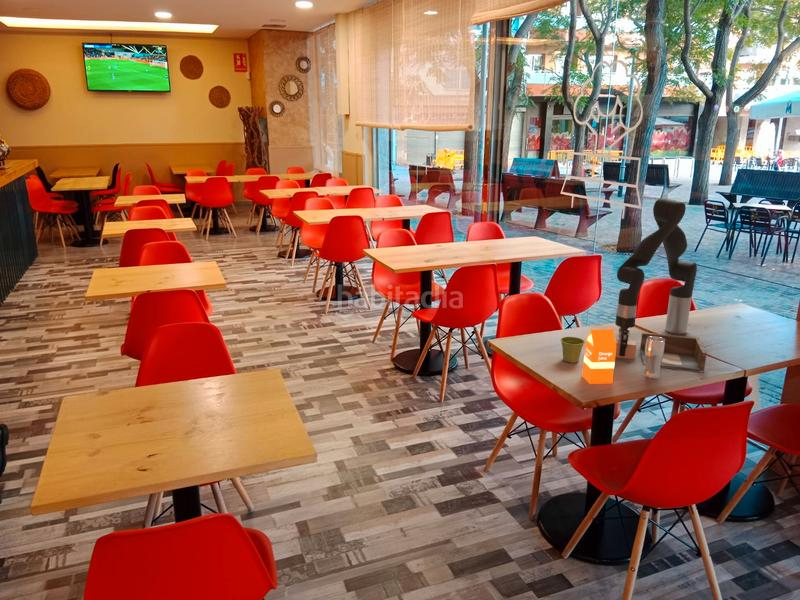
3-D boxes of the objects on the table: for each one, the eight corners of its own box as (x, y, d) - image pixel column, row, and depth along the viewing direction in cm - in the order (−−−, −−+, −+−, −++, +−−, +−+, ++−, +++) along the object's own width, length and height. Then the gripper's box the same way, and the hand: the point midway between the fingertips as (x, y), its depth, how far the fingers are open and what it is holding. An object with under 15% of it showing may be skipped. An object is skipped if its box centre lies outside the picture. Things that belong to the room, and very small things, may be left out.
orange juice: (612, 383, 228) (618, 332, 222) (589, 383, 227) (594, 332, 222) (604, 375, 236) (609, 325, 230) (581, 375, 235) (586, 326, 229)
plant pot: (555, 356, 254) (557, 336, 251) (577, 355, 255) (579, 336, 252) (563, 365, 245) (565, 344, 242) (586, 364, 246) (588, 344, 243)
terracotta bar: (609, 356, 254) (610, 342, 253) (608, 352, 259) (610, 338, 257) (634, 359, 252) (636, 345, 250) (633, 354, 256) (635, 341, 255)
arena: (639, 350, 262) (642, 332, 259) (696, 355, 256) (698, 337, 253) (643, 365, 245) (645, 346, 243) (703, 372, 239) (706, 352, 237)
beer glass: (646, 370, 240) (651, 334, 236) (664, 375, 235) (669, 338, 231) (638, 375, 235) (642, 338, 231) (656, 380, 231) (661, 343, 226)
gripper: (615, 308, 258) (611, 346, 263) (617, 318, 245) (612, 358, 250) (634, 310, 256) (630, 348, 261) (637, 320, 243) (632, 360, 248)
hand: (621, 353), depth 255 cm, fingers closed on terracotta bar, 5 cm apart
